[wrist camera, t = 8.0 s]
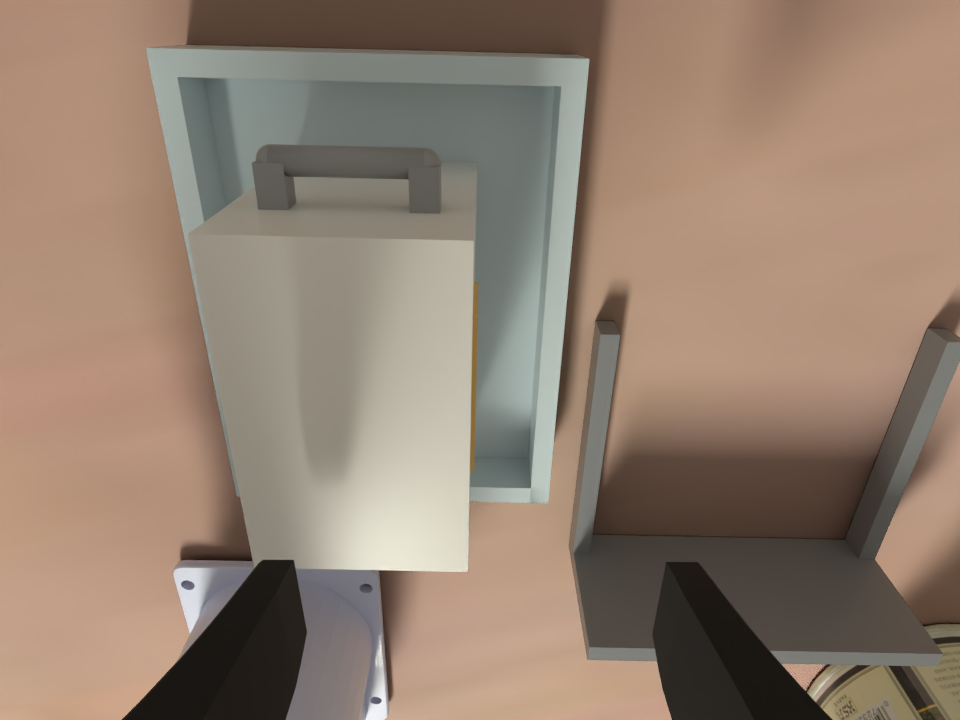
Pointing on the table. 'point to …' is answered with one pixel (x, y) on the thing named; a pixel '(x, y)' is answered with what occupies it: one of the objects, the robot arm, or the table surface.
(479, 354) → the tray
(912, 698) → the coffee can
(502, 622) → the table surface
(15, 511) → the table surface
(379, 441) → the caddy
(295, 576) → the robot arm
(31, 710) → the table surface
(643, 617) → the dock
